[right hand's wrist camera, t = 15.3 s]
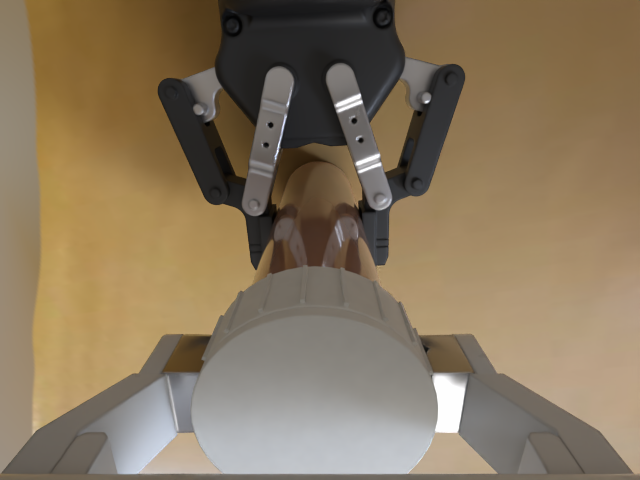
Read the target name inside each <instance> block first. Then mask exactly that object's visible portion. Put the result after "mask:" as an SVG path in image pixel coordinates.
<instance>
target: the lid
mask: <svg viewBox="0 0 640 480" xmlns="http://www.w3.org/2000/svg"><path fill="white" fill-rule="evenodd" d="M201 360H203V361H204V364H203V366H202V368H201V371H200V373H199V375H198V378H197V380H196V383H195V386H194V389H193V393H192V399H191V419H192V425H193V429H194V433H195V435H196V438H197V440H198V442H199V445H200V447H201V448H202V450H203V451H204V453H205V455H206V456H207V457H208V459H209V460H210V461H211V462H212V463H213V465H214V466H215V467H216V468H217V469H219V470H220V471H221V472H222V473H223V474H407V473H408V472H409V471H410V470H411V469H412V468H413V467H415V466H416V464H417V463H418V462H419V461H420V459H421V458H422V457H423V456H424V454H425V453H426V451H427V449H428V447H429V446H430V444H431V441H432V439H433V437H434V434H435V430H436V426H437V422H438V399H437V393H436V390H435V387H434V383H433V380H432V378H431V375H433V371H432V368H431V365H430V363H429V360H428V358H427V355H426V353H425V350H424V348H423V345H422V343H421V340H420V338H419V335H418V333H417V330H416V328H414V329H413V328H412V326H411V323H410V321H409V319H408V317H407V314H406V311H405V309H404V306H403V304H402V303H401V302H399V303H398V302H397V301H396V300H395V299H394V298H393V297H392V296H391V294H389V293H388V292H387V291H386V290H384V289H383V288H382V287H381V286H379V284H378V282H377V281H375V280H374V281H371V280H369V279H367V278H365V277H363V276H360V275H358V274H356V273H353V272H349V271H346V270H345V268H340V269H337V268H331V267H318V266H312V267H308V266H307V265H303V267H299V268H294V269H288V270H284V271H281V272H278V273H275V274H272V273H269V274H267V277H266V278H263V279H261V280H260V281H258V282H256V283H255V284H253V285H252V286H250V287H249V288H247V289H246V290H245V291H244V292H242V291H240V292H239V293H238V295H237V298H236V300H235V301H234V302H233V303H232V304H231V305H230V307H229V308H228V310H227V311H226V313H225V315H224V316H222V315H221V316H220V318H219V320H218V322H217V324H216V327H215V329H214V331H213V334H212V336H211V338H210V341H209V343H208V345H207V347H206V350H205V352H204V354H203V357H202V359H201Z"/></svg>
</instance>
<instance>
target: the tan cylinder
mask: <svg viewBox="0 0 640 480" xmlns="http://www.w3.org/2000/svg"><path fill="white" fill-rule="evenodd" d="M303 265H307V266H308V267H312V266H318V267H331V268H337V269H340V268H345V270H346V271H349V272H353V273H356V274H358V275H360V276H363V277H365V278H367V279H369V280H371V281H374V280H375V281H377V282H378V284H379V286H381V287H382V285H381V282H380V279H379V275H378V272H377V269H376V266H375V262H374V259H373V256H372V253H371V249H370V246H369V243H368V240H367V236H366V233H365V230H364V227H363V223H362V220H361V217H360V214H359V210H358V207H357V204H356V201H355V197H354V194H353V191H352V188H351V184H350V182H349V180H348V178H347V176H346V175H345V173H344V172H343V171H342V170H341V169H339V168H338V167H337V166H335V165H333V164H331V163H327V162H322V161H315V162H309V163H306V164H304V165H302V166H300V167H299V168H298V169H296V170H295V171H294V172H293V173H292V175H291V176H290V178H289V179H288V182H287V184H286V187H285V190H284V193H283V196H282V199H281V202H280V205H279V207H278V210H277V213H276V216H275V219H274V222H273V225H272V228H271V231H270V233H269V236H268V239H267V242H266V245H265V248H264V251H263V254H262V257H261V259H260V262H259V265H258V268H257V271H256V274H255V277H254V280H253V283H252V285H253V284H255V283H256V282H258V281H260V280H261V279H263V278H266V277H267V274H269V273H272V274H275V273H278V272H281V271H284V270H288V269H294V268H299V267H303ZM252 285H251V286H252Z"/></svg>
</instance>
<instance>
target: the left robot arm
mask: <svg viewBox="0 0 640 480" xmlns="http://www.w3.org/2000/svg"><path fill="white" fill-rule="evenodd" d="M218 5H219V13H220V21H221V29H222V37H221V44H220V48H219V51H218V54H217V56H216V59H215V67H213V68H211V69H208V70H205V71H203V72H200V73H197V74H195V75H192V76H189V77H187V78H184V79H176V78H167V79H164V80H162V81H161V83H160V84H159V86H158V95H159V98H160V100H161V102H162V105H163V107H164V109H165V111H166V113H167V116H168V118H169V120H170V122H171V125H172V127H173V129H174V131H175V133H176V136H177V138H178V140H179V142H180V144H181V147H182V149H183V151H184V153H185V155H186V158H187V160H188V162H189V164H190V166H191V169H192V171H193V173H194V175H195V177H196V180H197V182H198V184H199V186H200V189H201V191H202V193H203V195H204V197H205V199H206V200H207V201H208V202H209V203H211V204H214V205H220V204H226V205H229V206H233V207H235V208H238V209H239V210H240V211H241V212H242V213H243V214H244V216H245V218H246V225H247V233H248V241H249V249H250V258H251V263H252V265H253V266H254V268H255V270H257V268H258V265H259V262H260V259H261V257H262V254H263V251H264V248H265V245H266V242H267V239H268V236H269V233H270V231H271V228H272V225H273V222H274V219H275V216H276V213H277V207H276V204H272V200H271V195H272V192H273V187H274V183H275V179H276V175H277V171H278V166H279V163H280V160H281V156H282V152H283V148H298V147H301V146H304V145H307V144H310V143H319V144H324V145H328V146H343V145H347V147H348V150H349V152H350V155H351V158H352V161H353V163H354V166H355V169H356V172H357V175H358V178H359V181H360V183H361V186H362V200H361V201H358V210H359V214H360V217H361V220H362V223H363V227H364V230H365V233H366V236H367V240H368V243H369V246H370V249H371V253H372V256H373V259H374V262H375V266H376V265H385V263H386V260H387V258H388V245H389V239H388V238H389V211H390V208H391V206H392V205H393V204H394V203H395V202H396V201H398V200H400V199H402V198H405V197H407V196H410V195H412V196H420V195H423V194H424V193H425V192H426V191H427V190H428V188H429V186H430V183H431V180H432V177H433V174H434V171H435V168H436V165H437V162H438V159H439V156H440V153H441V150H442V147H443V144H444V141H445V138H446V135H447V132H448V129H449V126H450V123H451V120H452V117H453V114H454V111H455V108H456V105H457V102H458V99H459V97H460V94H461V91H462V88H463V85H464V81H465V73H464V70H463V69H462V68H461V67H460V66H459V65H456V64H445V65H435V64H432V63H428V62H424V61H420V60H416V59H412V58H408V57H405V52H404V49H403V46H402V44H401V42H400V40H399V38H398V36H397V32H396V28H395V20H394V6H395V0H218ZM398 80H400V81H401V82H403V84H404V85H405V88H406V96H405V101H406V104H407V105H408V107H409V108H411V109H413V110H414V113H413V116H412V120H411V123H410V126H409V130H408V133H407V136H406V140H405V143H404V146H403V150H402V153H401V156H400V160H399V163H398V166H397V168H395V169H393V170H390V171H388V172H384V169H383V166H382V163H381V157H380V154H379V151H378V147H377V144H376V141H375V138H374V135H373V132H372V129H371V126H370V122H371V120H372V119H373V117H374V116H375V114H376V113H377V111H378V110H379V108H380V107H381V105H382V104H383V102H384V101H385V99H386V98H387V96H388V95H389V93H390V92H391V91H392V89H393V88H394V86H395V85H396V83H397V82H398ZM223 89H224V90H225V91H226V92H227V94H228V95H229V96H230V97H231V98H232V100H233V101H234V102H235V103H236V104H237V106H238V107H239V108H240V109H241V110H242V112H243V113H244V114H245V115H246V116H247V118H248V119H249V120H250V121H251V122H252V124H253V125H254V126H255V127H256V130H255V134H254V139H253V144H252V149H251V153H250V158H249V165H248V166H249V169H248V175H247V179H245V178H242V177H239V176H236V174H235V172H234V170H233V167H232V165H231V162H230V160H229V158H228V155H227V153H226V150H225V148H224V145H223V143H222V141H221V138H220V136H219V133H218V131H217V129H216V126H215V124H214V121H213V120H214V119H216V118H217V117H218V115H219V113H220V105H219V95H220V93H221V91H222V90H223Z"/></svg>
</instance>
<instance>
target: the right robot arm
mask: <svg viewBox="0 0 640 480" xmlns="http://www.w3.org/2000/svg"><path fill="white" fill-rule="evenodd" d="M211 336H212V335H203V334H166V335H164V336H162V338H161V339H160V341H159V342H158V344H157V346H156V347H155V349H154V350H153V352H152V353H151V355H150V357H149V358H148V360H147V361H146V363H145V364H144V366H143V368H142V369H141V371H140V372H139V374H131V375H130V376H128V377H126V378H125V379H123V380H121V381H120V382H118V383H116V384H115V385H113V386H111V387H109V388H108V389H106V390H104V391H103V392H101V393H99V394H98V395H96V396H94V397H93V398H91V399H89V400H87V401H86V402H84V403H82V404H81V405H79V406H77V407H76V408H74V409H72V410H71V411H69V412H67V413H66V414H64V415H62V416H60V417H59V418H57V419H55V420H54V421H52V422H50V423H49V424H47V425H45V426H44V427H42V428H40V429H38V430H37V431H36V432H35V433H34V434H33V436H32V437H31V438H30V439H29V440H28V442H27V443H26V444H25V445H24V446H23V448H22V449H21V450H20V451H19V452H18V454H17V455H16V456H15V457H14V458H13V460H12V461H11V462H10V463H9V464H8V466H7V467H6V468H5V469H4V471H3V472H2V473H1V474H0V480H640V474H634V473H633V472H632V471H631V470H630V468H629V467H628V466H627V465H626V463H625V462H624V461H623V460H622V458H621V457H620V456H619V455H618V453H617V452H616V451H615V450H614V449H613V447H612V446H611V445H610V444H609V442H608V441H607V440H606V439H605V437H604V436H603V435H602V434H601V432H600V431H598V430H597V429H595V428H593V427H592V426H590V425H588V424H587V423H585V422H583V421H582V420H580V419H578V418H577V417H575V416H573V415H572V414H570V413H568V412H567V411H565V410H563V409H562V408H560V407H558V406H556V405H555V404H553V403H551V402H550V401H548V400H546V399H545V398H543V397H541V396H540V395H538V394H536V393H535V392H533V391H531V390H530V389H528V388H526V387H525V386H523V385H521V384H520V383H518V382H516V381H515V380H513V379H511V378H510V377H508V376H506V375H505V374H498V373H497V372H496V370H495V369H494V367H493V366H492V364H491V362H490V361H489V359H488V358H487V356H486V354H485V353H484V351H483V350H482V348H481V347H480V345H479V343H478V342H477V340H476V339H475V337H474V336H473V335H472V334H452V335H419V338H420V340H421V343H422V345H423V348H424V350H425V353H426V355H427V358H428V360H429V363H430V365H431V368H432V371H433V375H431V378H432V380H433V383H434V387H435V390H436V393H437V399H438V422H437V426H436V430H435V432H446V433H459V435H460V436H461V437H462V438H463V439H464V440H465V441H466V442H467V443H468V444H469V445H470V446H471V447H472V448H473V449H474V450H475V451H476V452H477V453H478V454H479V455H480V456H481V457H482V458H483V459H484V460H485V461H486V462H487V463H488V464H489V465H490V466H491V467H492V468H493V469H494V470H495V471H496V472H497V473H498V474H138V473H139V472H140V471H141V470H142V469H143V468H144V467H145V466H146V465H147V464H148V463H149V462H150V461H151V460H152V459H153V458H154V457H155V456H156V455H157V454H158V453H159V452H160V451H161V450H162V449H163V448H164V447H165V446H166V445H167V444H169V443H170V442H171V441H172V440H173V439H174V438H175V437H176V436H177V433H190V432H194V429H193V425H192V419H191V399H192V393H193V389H194V386H195V383H196V380H197V378H198V375H199V373H200V371H201V368H202V366H203V364H204V361H203V360H201V359H202V357H203V354H204V352H205V350H206V347H207V345H208V343H209V341H210V338H211Z"/></svg>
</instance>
